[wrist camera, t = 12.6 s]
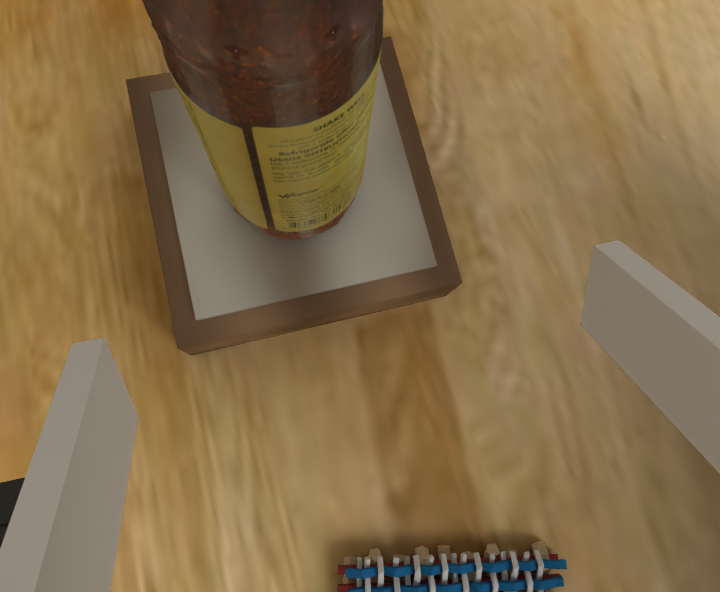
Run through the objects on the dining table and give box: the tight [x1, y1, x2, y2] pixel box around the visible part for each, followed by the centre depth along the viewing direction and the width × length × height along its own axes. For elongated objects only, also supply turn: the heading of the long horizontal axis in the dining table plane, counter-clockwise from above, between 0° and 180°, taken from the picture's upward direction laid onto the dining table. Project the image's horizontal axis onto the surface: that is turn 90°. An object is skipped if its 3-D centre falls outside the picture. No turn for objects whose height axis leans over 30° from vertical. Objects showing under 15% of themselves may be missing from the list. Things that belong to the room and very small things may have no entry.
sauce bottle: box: [142, 0, 383, 239], centre depth 16 cm, size 7×6×20 cm
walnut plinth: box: [126, 37, 462, 355], centre depth 28 cm, size 13×13×3 cm
